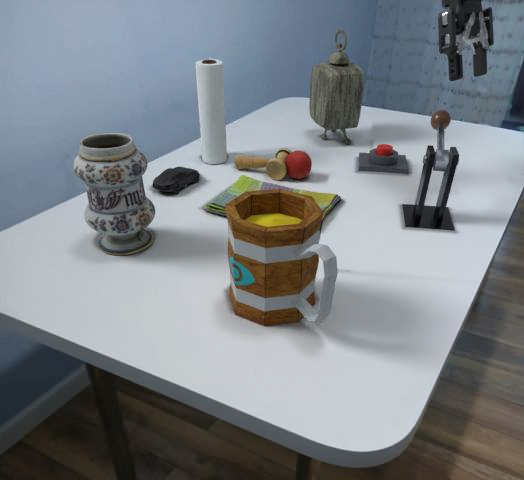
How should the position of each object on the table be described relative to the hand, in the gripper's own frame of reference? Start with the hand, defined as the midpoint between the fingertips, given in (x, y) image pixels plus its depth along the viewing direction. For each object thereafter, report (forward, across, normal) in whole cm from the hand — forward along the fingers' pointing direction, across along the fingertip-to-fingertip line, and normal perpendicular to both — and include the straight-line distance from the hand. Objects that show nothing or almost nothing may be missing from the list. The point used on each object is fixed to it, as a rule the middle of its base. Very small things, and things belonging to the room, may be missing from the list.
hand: (468, 77), depth 88 cm
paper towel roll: (+4, -18, +56) cm, 59 cm away
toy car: (+8, -34, +50) cm, 61 cm away
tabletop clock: (+6, +15, +47) cm, 50 cm away
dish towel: (+16, -26, +28) cm, 42 cm away
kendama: (+10, -14, +41) cm, 44 cm away
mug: (+26, -49, +5) cm, 56 cm away
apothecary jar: (+14, -56, +37) cm, 68 cm away
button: (+11, +7, +25) cm, 28 cm away
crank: (+10, -5, +4) cm, 12 cm away
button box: (+14, +7, +26) cm, 31 cm away
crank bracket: (+24, -8, +6) cm, 25 cm away
